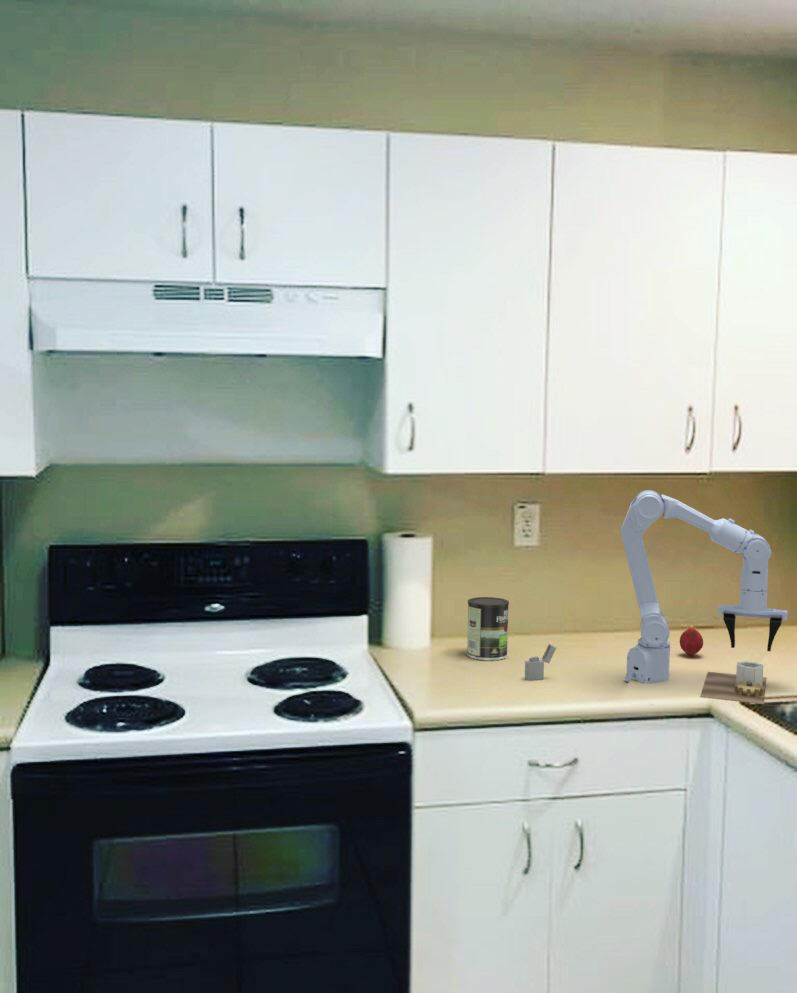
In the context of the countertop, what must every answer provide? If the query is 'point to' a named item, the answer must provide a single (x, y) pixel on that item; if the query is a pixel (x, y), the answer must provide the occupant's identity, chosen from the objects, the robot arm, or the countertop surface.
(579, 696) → the countertop surface
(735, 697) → the gear board
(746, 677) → the hollow cylinder
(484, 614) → the coffee can
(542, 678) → the lighter
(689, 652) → the onion
